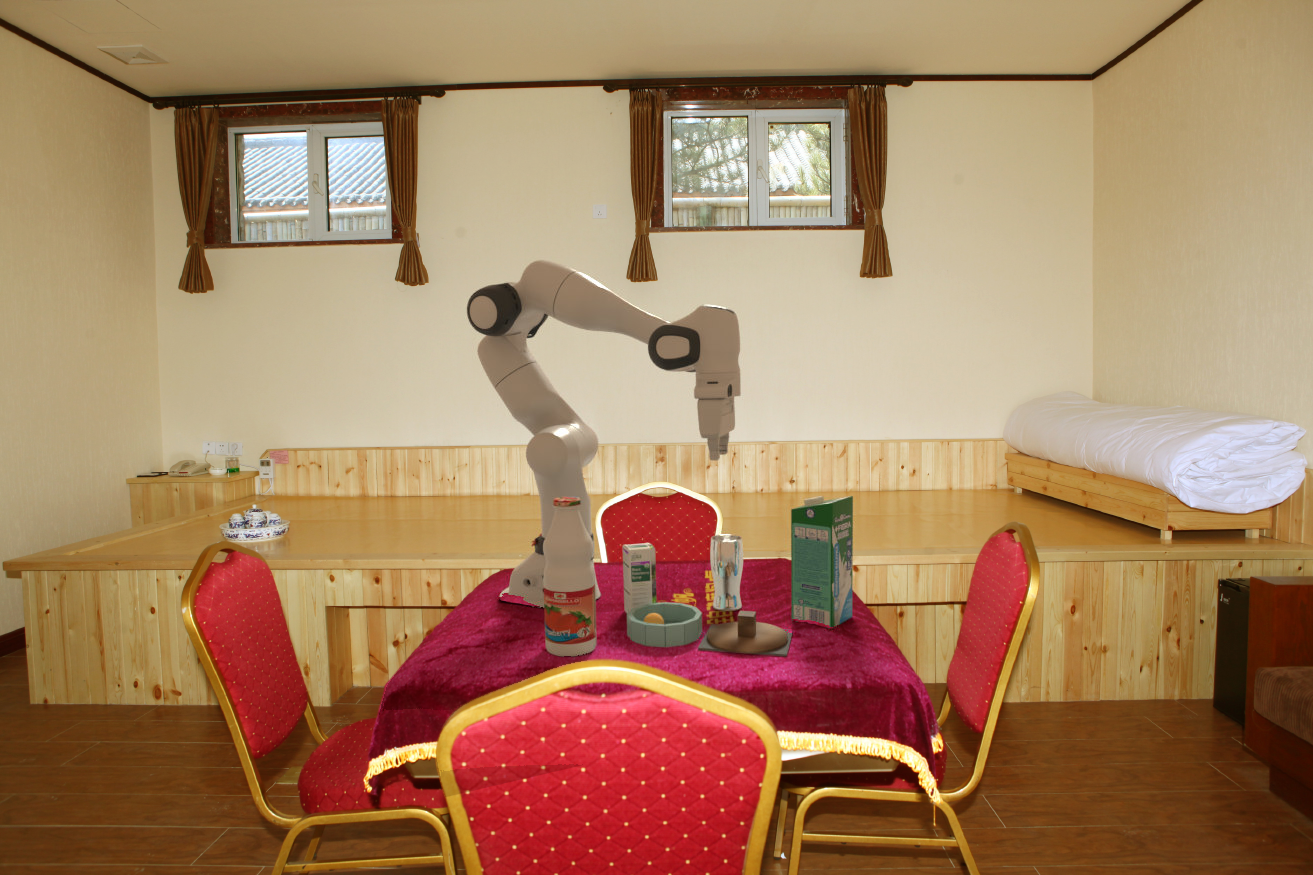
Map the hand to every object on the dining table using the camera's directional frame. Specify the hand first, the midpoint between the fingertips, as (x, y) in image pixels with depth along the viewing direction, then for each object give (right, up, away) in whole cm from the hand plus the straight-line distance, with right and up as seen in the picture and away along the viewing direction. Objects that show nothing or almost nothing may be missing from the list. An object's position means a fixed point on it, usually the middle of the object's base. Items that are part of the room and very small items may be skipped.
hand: (718, 457), depth 158 cm
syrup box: (-16, -33, +8) cm, 37 cm away
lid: (+4, -34, -10) cm, 35 cm away
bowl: (-11, -34, -5) cm, 36 cm away
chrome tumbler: (+3, -32, +11) cm, 34 cm away
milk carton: (+21, -33, +2) cm, 39 cm away
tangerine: (-13, -32, -7) cm, 35 cm away
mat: (+4, -34, -10) cm, 36 cm away
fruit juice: (-28, -35, -12) cm, 47 cm away
